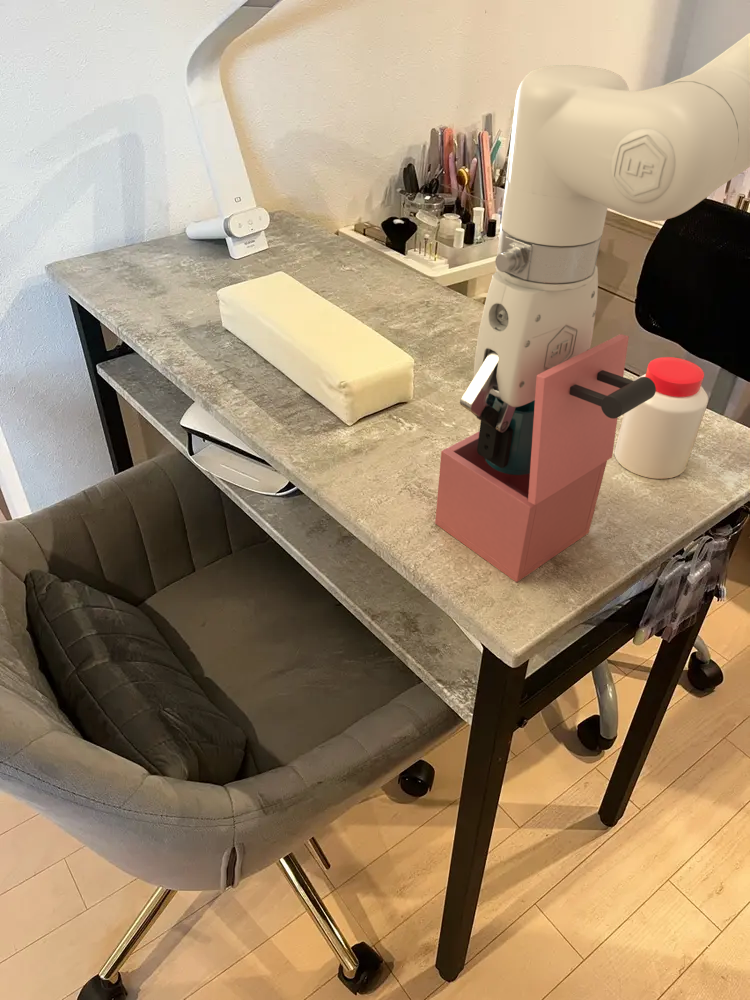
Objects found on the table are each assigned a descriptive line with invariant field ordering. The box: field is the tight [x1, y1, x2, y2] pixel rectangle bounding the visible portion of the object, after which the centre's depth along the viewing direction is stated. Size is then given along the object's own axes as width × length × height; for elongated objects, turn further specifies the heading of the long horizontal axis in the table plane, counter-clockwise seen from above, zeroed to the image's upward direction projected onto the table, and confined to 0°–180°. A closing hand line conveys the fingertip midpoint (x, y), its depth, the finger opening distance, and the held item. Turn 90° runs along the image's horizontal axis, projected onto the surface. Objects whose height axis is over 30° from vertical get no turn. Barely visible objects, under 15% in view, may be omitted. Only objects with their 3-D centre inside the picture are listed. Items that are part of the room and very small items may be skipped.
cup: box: [485, 397, 535, 475], centre depth 69 cm, size 5×5×6 cm
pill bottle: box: [613, 356, 709, 480], centre depth 81 cm, size 8×8×11 cm
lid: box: [528, 333, 656, 505], centre depth 61 cm, size 12×11×6 cm
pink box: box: [434, 431, 608, 583], centre depth 72 cm, size 11×11×9 cm
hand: (515, 445), depth 70 cm, fingers closed on cup, 5 cm apart
